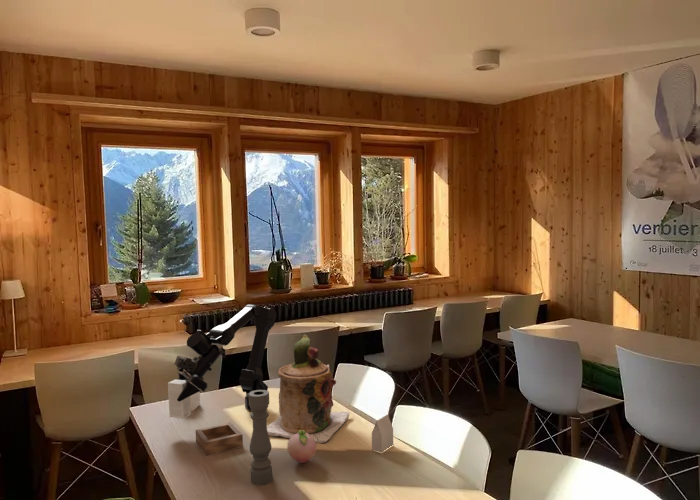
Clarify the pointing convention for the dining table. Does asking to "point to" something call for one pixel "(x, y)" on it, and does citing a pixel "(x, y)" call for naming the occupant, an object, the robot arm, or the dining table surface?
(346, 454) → the dining table surface
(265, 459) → the candle holder
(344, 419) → the cookie jar
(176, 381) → the skincare box
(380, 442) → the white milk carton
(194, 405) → the medicine bottle
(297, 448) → the decorative fruit
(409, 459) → the dining table surface
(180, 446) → the dining table surface
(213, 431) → the walnut holder
